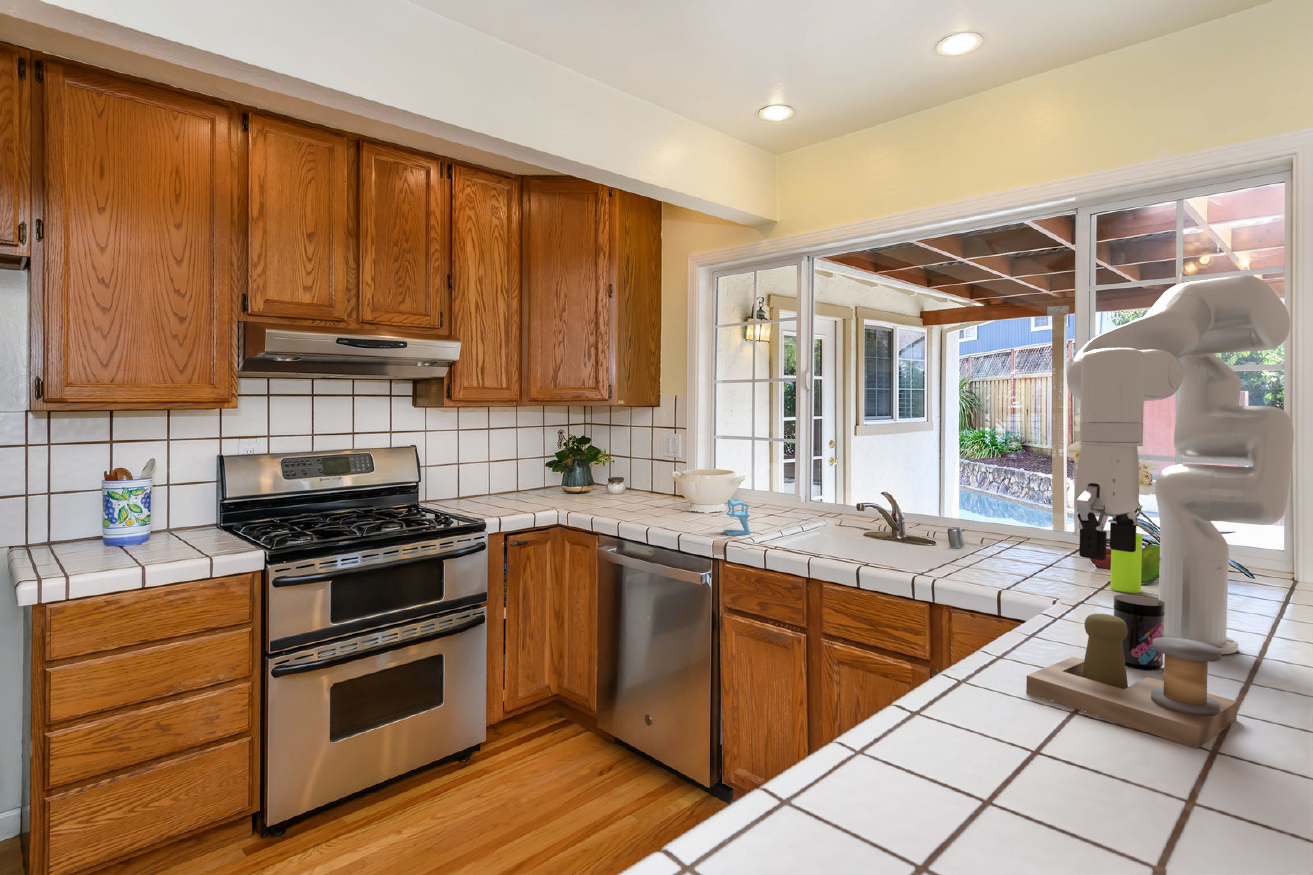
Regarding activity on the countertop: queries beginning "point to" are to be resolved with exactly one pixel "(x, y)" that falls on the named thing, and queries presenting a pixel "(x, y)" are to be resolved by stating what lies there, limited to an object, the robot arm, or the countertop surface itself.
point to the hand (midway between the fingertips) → (1108, 554)
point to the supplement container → (1141, 630)
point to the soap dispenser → (1127, 568)
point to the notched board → (1148, 694)
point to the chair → (741, 515)
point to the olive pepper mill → (1105, 650)
